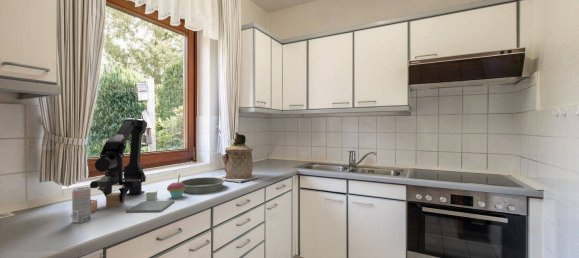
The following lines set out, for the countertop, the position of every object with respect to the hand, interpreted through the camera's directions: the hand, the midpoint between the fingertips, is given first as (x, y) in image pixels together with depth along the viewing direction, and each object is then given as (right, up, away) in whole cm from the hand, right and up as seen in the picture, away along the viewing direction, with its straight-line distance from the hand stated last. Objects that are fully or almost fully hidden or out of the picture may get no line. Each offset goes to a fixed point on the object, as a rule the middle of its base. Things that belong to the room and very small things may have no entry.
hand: (115, 202), depth 117 cm
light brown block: (-6, -1, -9) cm, 11 cm away
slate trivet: (+18, -1, -3) cm, 18 cm away
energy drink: (+1, -1, -20) cm, 20 cm away
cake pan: (+29, -1, +31) cm, 42 cm away
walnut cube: (0, -1, 0) cm, 1 cm away
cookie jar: (+43, -1, +61) cm, 75 cm away
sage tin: (+12, -1, +9) cm, 15 cm away
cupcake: (+21, -1, +14) cm, 26 cm away
